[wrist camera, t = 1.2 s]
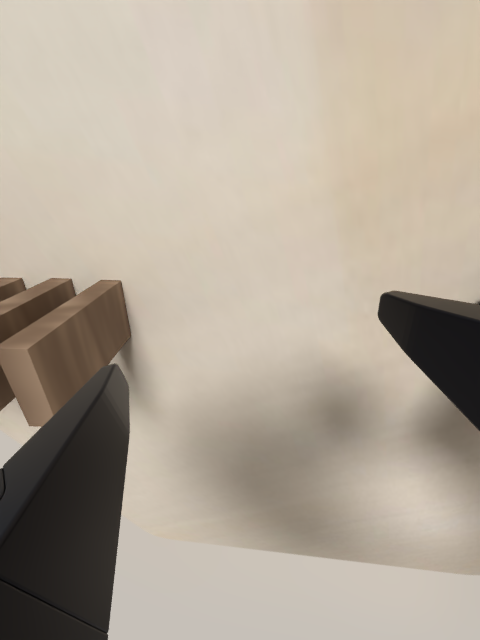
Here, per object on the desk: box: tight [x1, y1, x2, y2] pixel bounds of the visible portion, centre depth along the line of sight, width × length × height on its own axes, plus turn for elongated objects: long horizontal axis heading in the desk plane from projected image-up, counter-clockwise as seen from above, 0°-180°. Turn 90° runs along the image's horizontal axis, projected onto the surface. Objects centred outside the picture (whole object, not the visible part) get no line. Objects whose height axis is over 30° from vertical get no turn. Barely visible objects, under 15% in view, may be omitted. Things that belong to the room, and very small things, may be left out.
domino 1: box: [0, 280, 131, 427], centre depth 18 cm, size 2×5×10 cm, turn 179°
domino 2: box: [0, 278, 76, 411], centre depth 18 cm, size 2×5×10 cm, turn 179°
